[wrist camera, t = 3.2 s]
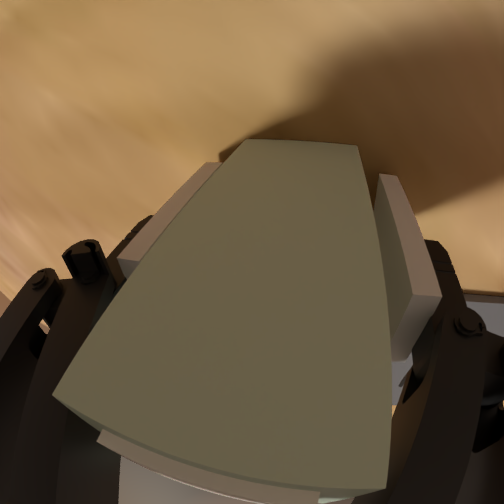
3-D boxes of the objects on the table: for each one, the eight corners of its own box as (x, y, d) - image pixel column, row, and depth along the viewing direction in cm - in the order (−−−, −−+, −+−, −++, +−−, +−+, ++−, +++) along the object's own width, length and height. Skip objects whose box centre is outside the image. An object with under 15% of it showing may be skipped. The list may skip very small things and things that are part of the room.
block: (245, 139, 11) (45, 407, 3) (356, 145, 10) (383, 508, 2) (252, 229, 14) (149, 470, 6) (346, 238, 13) (320, 511, 5)
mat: (405, 288, 14) (406, 296, 14) (559, 300, 11) (562, 306, 10) (352, 397, 23) (352, 403, 22) (477, 396, 19) (478, 401, 19)
